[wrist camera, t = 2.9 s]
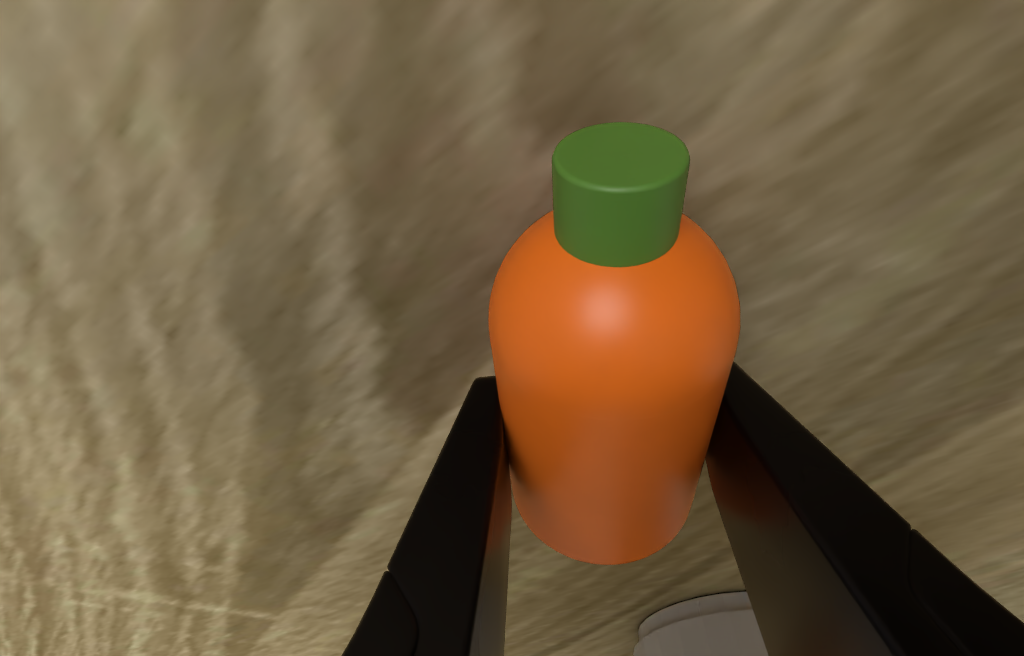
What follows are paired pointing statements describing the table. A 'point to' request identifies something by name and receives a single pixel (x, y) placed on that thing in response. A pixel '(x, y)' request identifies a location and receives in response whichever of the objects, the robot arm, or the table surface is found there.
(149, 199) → the table surface
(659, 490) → the carrot
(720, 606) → the coffee cup
